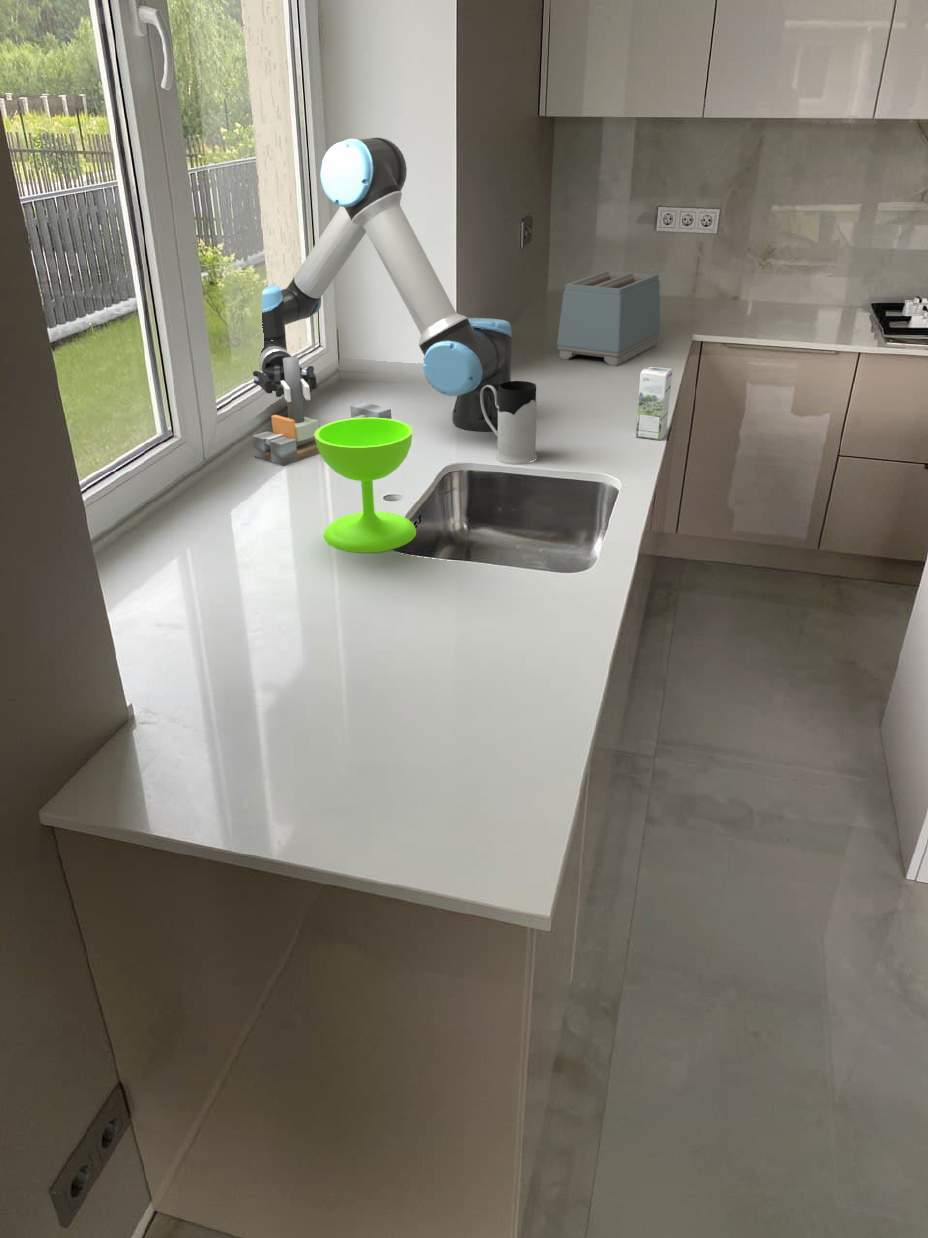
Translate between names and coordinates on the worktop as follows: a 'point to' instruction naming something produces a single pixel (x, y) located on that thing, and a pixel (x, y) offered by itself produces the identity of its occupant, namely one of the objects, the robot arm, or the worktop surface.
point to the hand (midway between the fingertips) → (298, 394)
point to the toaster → (610, 316)
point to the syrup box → (653, 403)
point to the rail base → (293, 450)
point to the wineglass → (366, 480)
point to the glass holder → (515, 421)
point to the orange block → (282, 428)
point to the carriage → (297, 400)
